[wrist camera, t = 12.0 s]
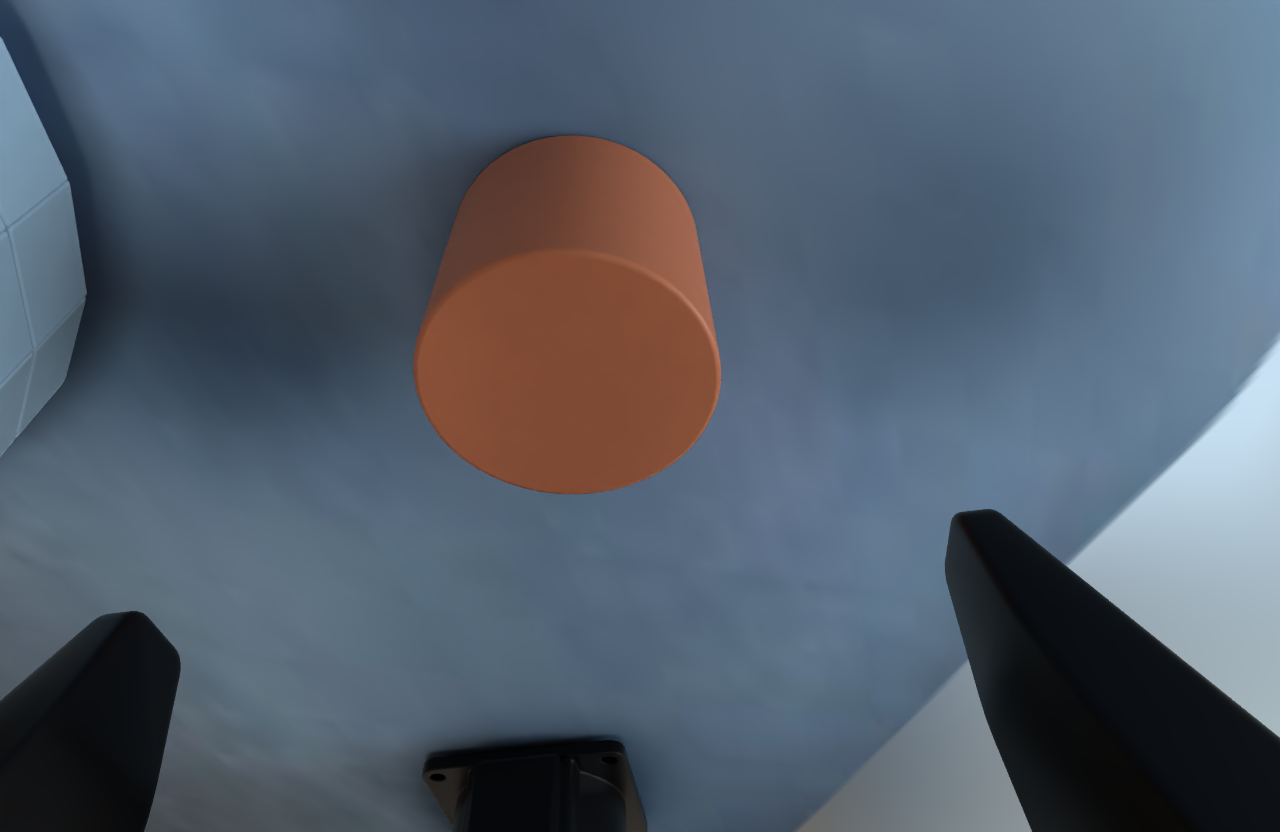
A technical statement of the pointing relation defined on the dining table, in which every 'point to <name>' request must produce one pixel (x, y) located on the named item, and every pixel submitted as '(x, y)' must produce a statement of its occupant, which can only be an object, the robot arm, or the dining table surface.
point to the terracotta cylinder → (570, 321)
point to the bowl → (33, 261)
